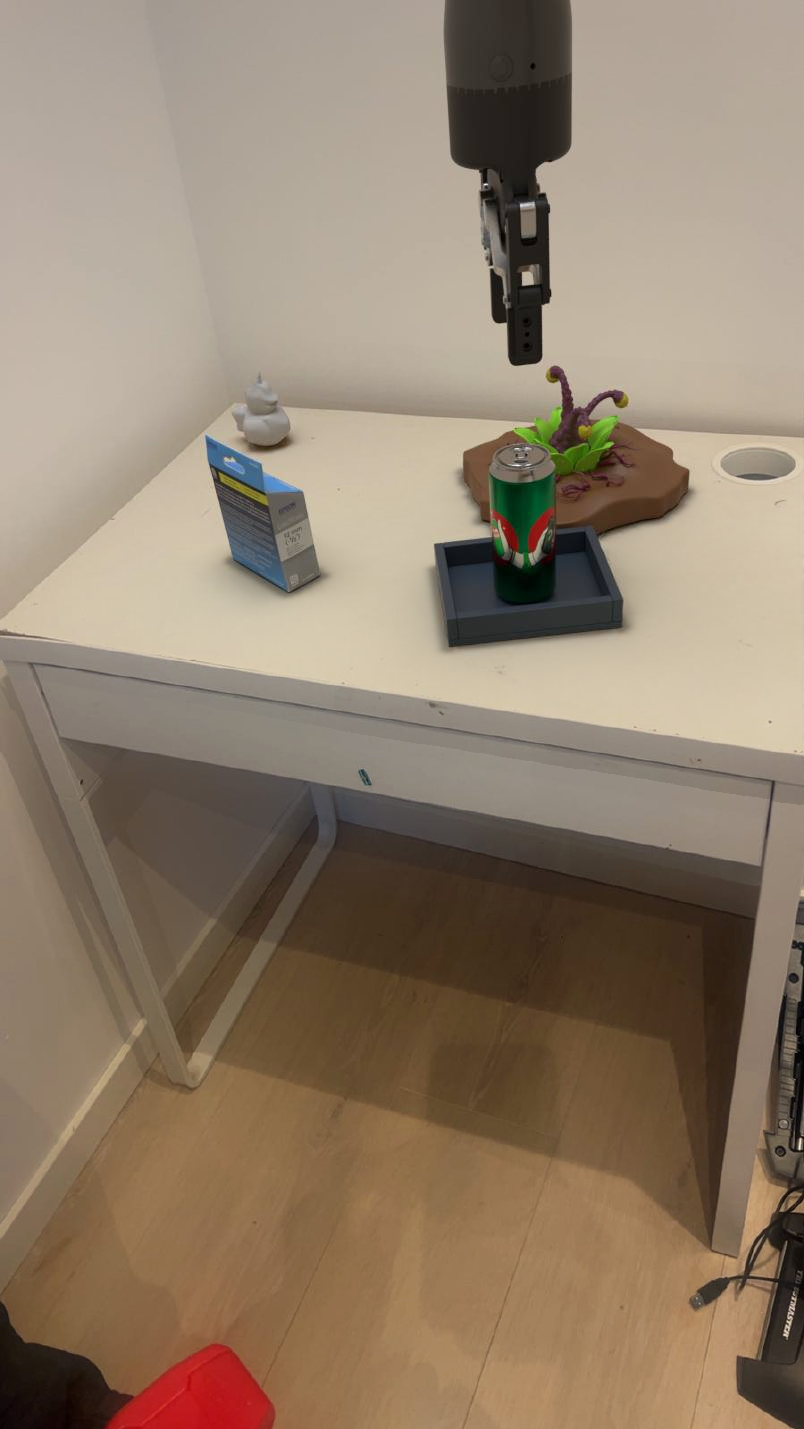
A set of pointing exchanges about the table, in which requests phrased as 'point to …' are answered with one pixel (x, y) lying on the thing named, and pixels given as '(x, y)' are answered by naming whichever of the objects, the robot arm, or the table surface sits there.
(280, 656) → the table surface
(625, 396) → the plant
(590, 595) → the container
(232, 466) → the label tape box
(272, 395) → the rubber duck
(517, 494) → the soda can
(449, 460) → the table surface
